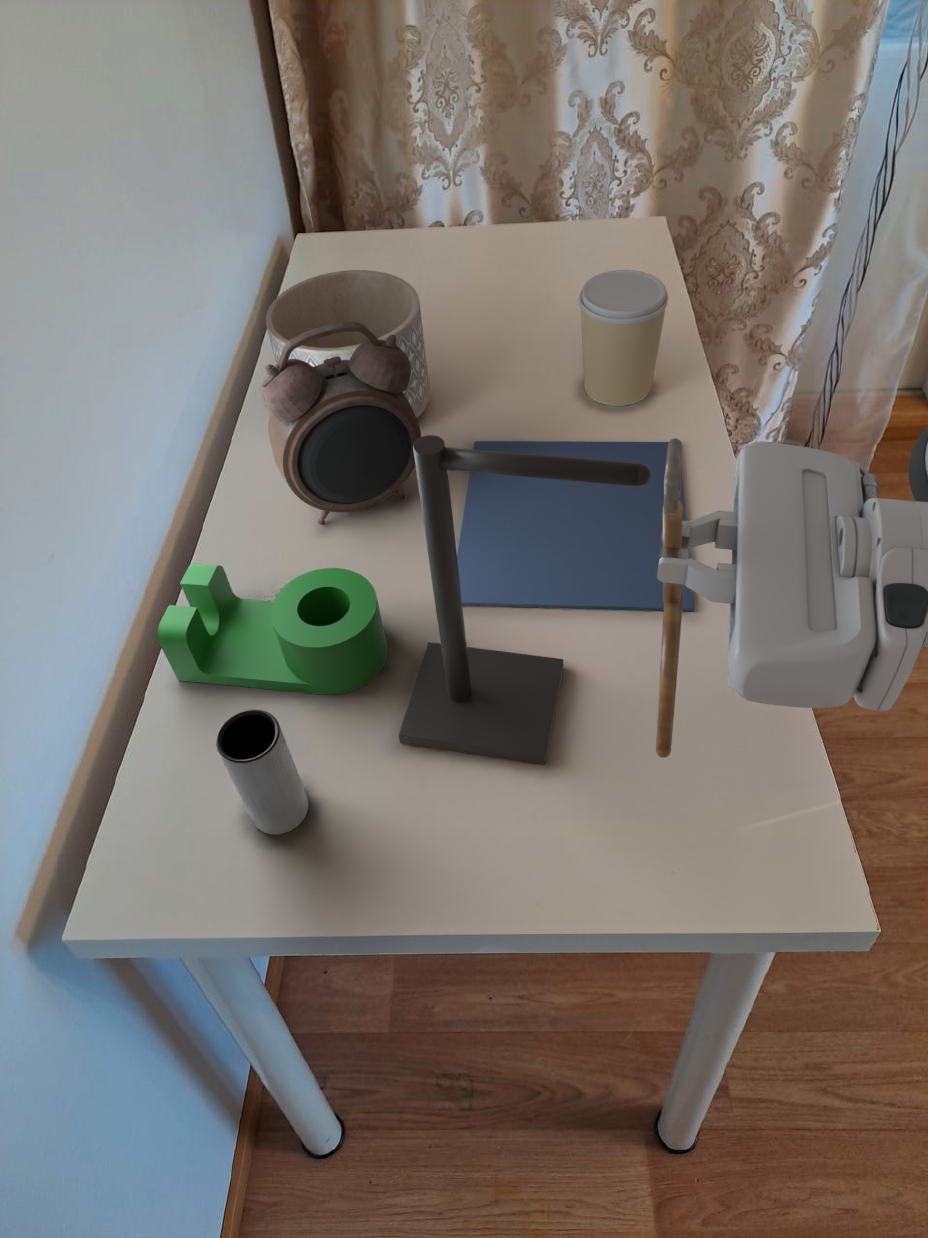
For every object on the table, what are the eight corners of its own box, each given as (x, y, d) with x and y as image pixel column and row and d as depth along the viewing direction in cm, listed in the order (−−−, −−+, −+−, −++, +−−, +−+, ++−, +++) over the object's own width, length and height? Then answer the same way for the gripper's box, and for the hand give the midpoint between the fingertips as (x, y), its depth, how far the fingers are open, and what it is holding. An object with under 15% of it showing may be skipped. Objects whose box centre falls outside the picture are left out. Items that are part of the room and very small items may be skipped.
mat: (678, 444, 97) (678, 441, 97) (692, 611, 81) (693, 608, 81) (474, 443, 100) (474, 440, 99) (450, 605, 84) (450, 602, 84)
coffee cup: (656, 363, 107) (666, 267, 98) (660, 410, 101) (671, 312, 92) (577, 363, 108) (580, 268, 99) (576, 410, 102) (578, 313, 93)
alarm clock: (302, 545, 91) (253, 373, 76) (285, 502, 95) (235, 332, 80) (437, 502, 93) (416, 328, 79) (414, 463, 98) (390, 291, 83)
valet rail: (630, 676, 77) (658, 412, 57) (617, 776, 71) (644, 519, 50) (429, 650, 80) (389, 393, 60) (399, 743, 74) (343, 491, 54)
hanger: (686, 580, 72) (691, 374, 58) (671, 761, 61) (674, 560, 47) (670, 580, 72) (672, 374, 58) (653, 759, 61) (650, 559, 47)
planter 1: (262, 845, 69) (226, 773, 61) (243, 799, 72) (207, 725, 64) (317, 818, 70) (289, 744, 62) (297, 775, 73) (267, 699, 65)
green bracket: (396, 620, 83) (387, 571, 78) (374, 699, 77) (362, 651, 72) (213, 605, 86) (193, 557, 81) (178, 680, 80) (154, 633, 75)
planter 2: (283, 383, 110) (258, 286, 100) (414, 356, 112) (401, 258, 102) (301, 465, 99) (274, 364, 90) (445, 433, 101) (434, 331, 92)
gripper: (888, 426, 60) (674, 413, 63) (922, 666, 47) (651, 636, 49) (863, 499, 65) (666, 483, 67) (888, 735, 52) (642, 704, 54)
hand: (659, 550), depth 58 cm, fingers closed on hanger, 1 cm apart
